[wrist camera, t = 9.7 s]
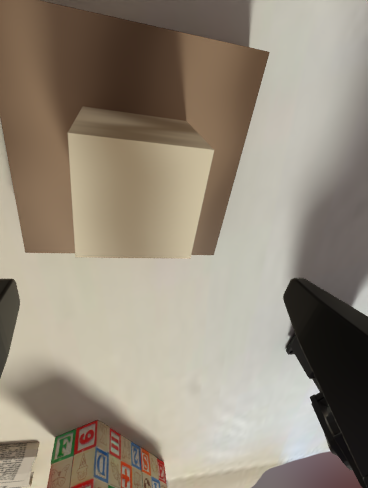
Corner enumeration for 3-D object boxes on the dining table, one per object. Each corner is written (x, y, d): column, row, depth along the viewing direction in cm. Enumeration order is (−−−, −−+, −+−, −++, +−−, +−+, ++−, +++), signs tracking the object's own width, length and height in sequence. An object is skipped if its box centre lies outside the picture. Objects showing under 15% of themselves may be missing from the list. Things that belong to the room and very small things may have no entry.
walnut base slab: (249, 51, 15) (269, 52, 13) (204, 236, 22) (213, 255, 20) (-1, -4, 12) (-24, -14, 10) (35, 230, 19) (25, 252, 17)
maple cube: (186, 121, 14) (214, 149, 10) (172, 208, 17) (190, 258, 13) (82, 106, 13) (67, 132, 9) (85, 203, 16) (75, 257, 12)
